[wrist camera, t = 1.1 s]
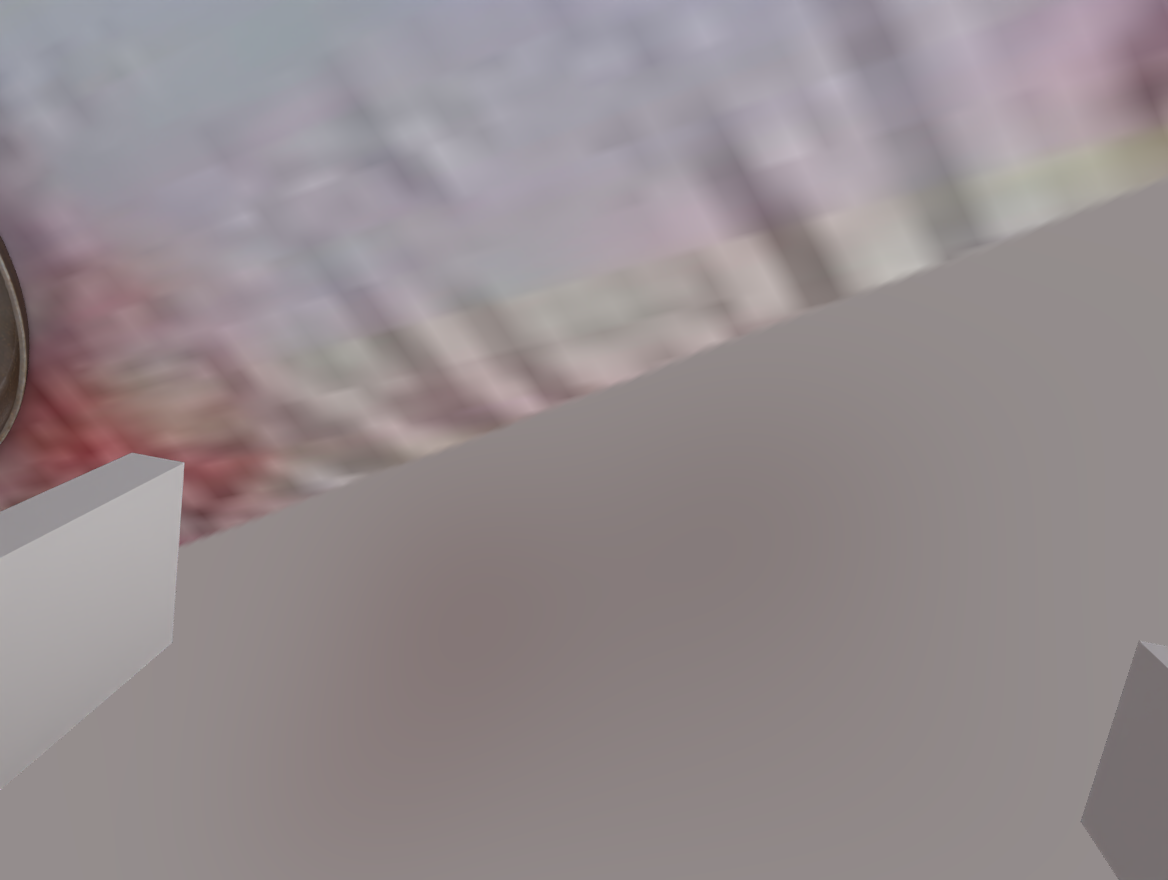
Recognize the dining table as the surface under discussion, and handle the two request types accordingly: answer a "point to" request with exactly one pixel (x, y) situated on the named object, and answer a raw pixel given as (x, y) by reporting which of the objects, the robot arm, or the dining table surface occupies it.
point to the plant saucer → (11, 343)
